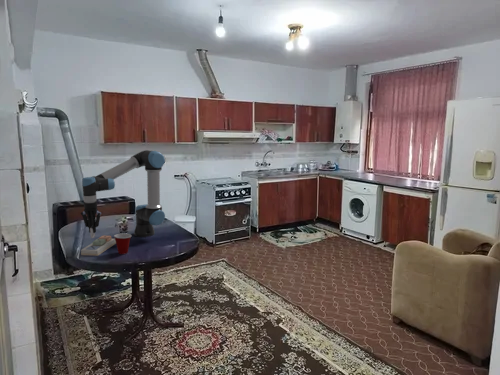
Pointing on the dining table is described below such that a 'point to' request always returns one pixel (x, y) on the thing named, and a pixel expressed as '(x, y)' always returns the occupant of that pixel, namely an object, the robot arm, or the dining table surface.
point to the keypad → (100, 249)
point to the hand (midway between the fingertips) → (93, 237)
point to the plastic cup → (122, 242)
